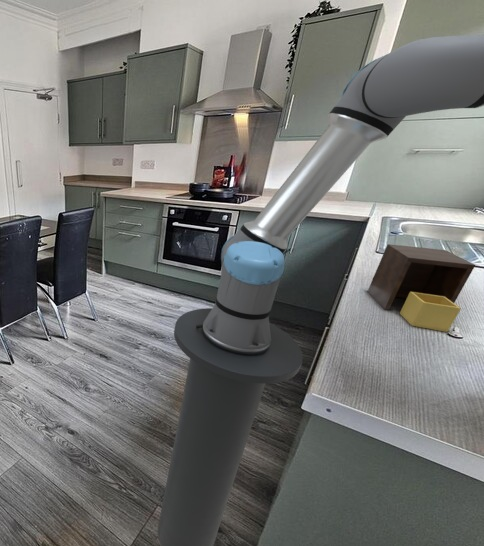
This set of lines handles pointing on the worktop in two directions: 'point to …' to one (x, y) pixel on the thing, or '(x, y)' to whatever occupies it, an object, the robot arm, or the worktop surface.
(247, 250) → the robot arm
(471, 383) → the worktop surface
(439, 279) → the shelf
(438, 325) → the basket
